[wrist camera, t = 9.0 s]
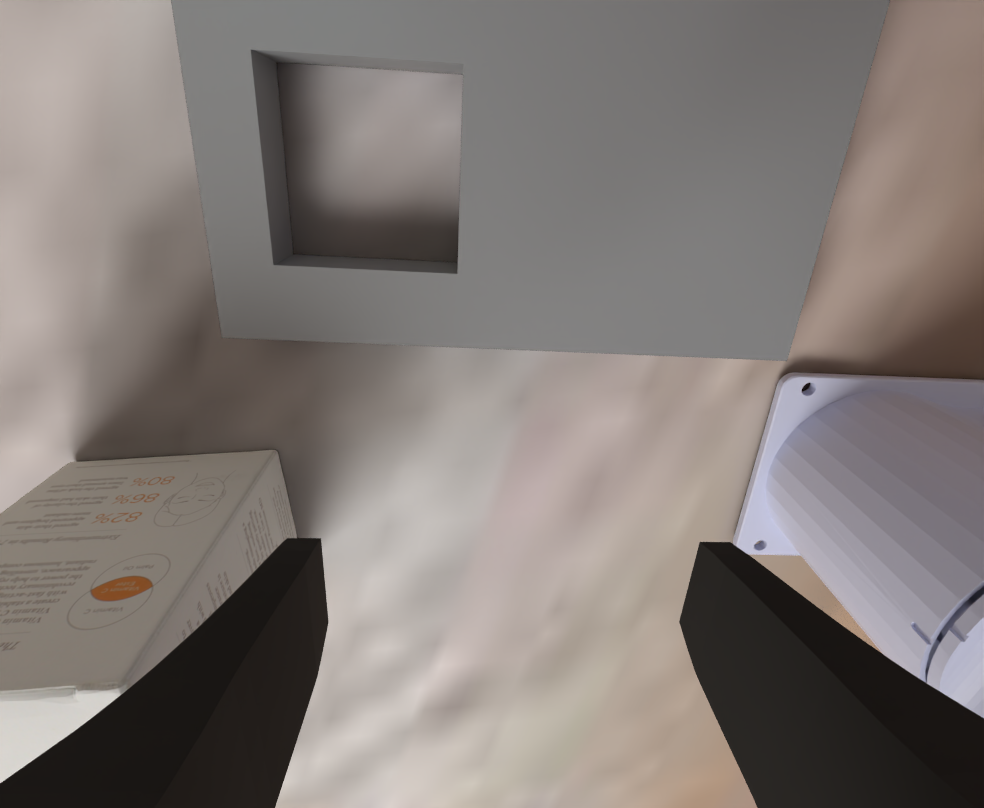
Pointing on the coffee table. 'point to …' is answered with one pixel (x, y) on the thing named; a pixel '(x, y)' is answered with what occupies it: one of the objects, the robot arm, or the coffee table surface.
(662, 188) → the pocket board
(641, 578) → the coffee table surface
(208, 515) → the small box
